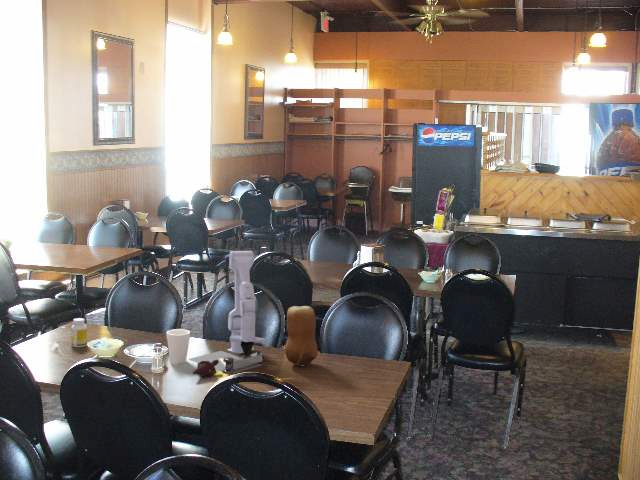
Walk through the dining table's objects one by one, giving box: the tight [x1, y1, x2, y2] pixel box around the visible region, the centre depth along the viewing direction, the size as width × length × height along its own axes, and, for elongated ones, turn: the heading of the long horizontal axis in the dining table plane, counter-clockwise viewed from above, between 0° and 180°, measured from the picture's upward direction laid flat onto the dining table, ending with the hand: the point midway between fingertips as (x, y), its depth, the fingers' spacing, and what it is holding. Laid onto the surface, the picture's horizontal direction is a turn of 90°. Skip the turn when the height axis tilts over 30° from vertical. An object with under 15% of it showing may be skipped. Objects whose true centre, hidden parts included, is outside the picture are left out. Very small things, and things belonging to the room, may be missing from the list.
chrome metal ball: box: [221, 363, 235, 374], centre depth 308 cm, size 5×5×4 cm
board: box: [188, 350, 263, 375], centre depth 320 cm, size 18×26×1 cm
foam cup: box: [166, 328, 191, 366], centre depth 317 cm, size 10×9×13 cm
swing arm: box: [223, 349, 263, 369], centre depth 313 cm, size 20×4×4 cm, turn 138°
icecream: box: [192, 360, 219, 379], centre depth 301 cm, size 7×7×15 cm
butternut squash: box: [284, 305, 319, 367], centre depth 320 cm, size 14×13×25 cm
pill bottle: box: [70, 317, 88, 348], centre depth 336 cm, size 6×6×12 cm
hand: (247, 359), depth 320 cm, fingers closed
